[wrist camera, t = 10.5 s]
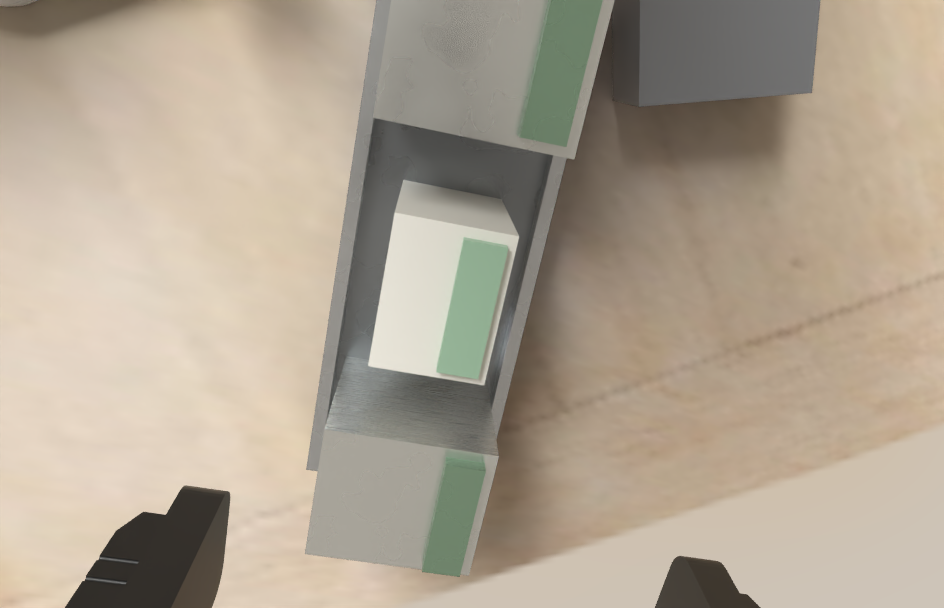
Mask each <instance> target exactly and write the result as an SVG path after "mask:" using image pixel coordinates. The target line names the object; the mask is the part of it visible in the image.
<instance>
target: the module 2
mask: <svg viewBox="0 0 944 608" xmlns="http://www.w3.org/2000/svg"><path fill="white" fill-rule="evenodd" d="M819 9H820V0H615V1H614V5H613V9H612V78H613V101H616V102H621V103H625V104H629V105H634V106H638V107H643V106H655V105H668V104H680V103H692V102H705V101H717V100H730V99H742V98H754V97H767V96H779V95H792V94H804V93H812V86H813V75H814V64H815V53H816V42H817V31H818V20H819Z"/></svg>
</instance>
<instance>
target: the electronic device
mask: <svg viewBox="0 0 944 608" xmlns="http://www.w3.org/2000/svg"><path fill="white" fill-rule="evenodd" d="M35 1H38V0H0V6H7V7H13V6H25V5H27V4H30V3H32V2H35Z"/></svg>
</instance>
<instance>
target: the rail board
mask: <svg viewBox="0 0 944 608" xmlns="http://www.w3.org/2000/svg"><path fill="white" fill-rule="evenodd" d="M614 1H615V0H376V6H375V13H374V20H373V27H372V33H371V40H370V47H369V53H368V60H367V67H366V73H365V80H364V87H363V94H362V100H361V107H360V114H359V120H358V127H357V134H356V140H355V147H354V154H353V160H352V167H351V174H350V181H349V187H348V194H347V201H346V207H345V214H344V221H343V227H342V234H341V241H340V248H339V254H338V261H337V268H336V274H335V281H334V288H333V294H332V301H331V308H330V314H329V321H328V328H327V335H326V341H325V348H324V355H323V361H322V368H321V375H320V381H319V388H318V395H317V402H316V408H315V415H314V422H313V428H312V435H311V442H310V448H309V455H308V462H307V468H306V470H312V471H318V473H317V479H316V486H315V492H314V499H313V505H312V511H311V518H310V524H309V531H308V537H307V544H306V550H305V554H308V555H316V556H324V557H331V558H339V559H346V560H354V561H361V562H369V563H376V564H384V565H391V566H399V567H406V568H414V569H421V570H422V572H427V573H435V574H442V575H450V576H457V577H460V575H466V576H469V573H470V569H471V565H472V561H473V557H474V553H475V549H476V545H477V542H478V538H479V534H480V530H481V526H482V522H483V518H484V514H485V510H486V506H487V502H488V498H489V494H490V490H491V486H492V482H493V478H494V474H495V471H496V467H497V463H498V459H499V453H498V447H497V440H496V439H497V435H498V431H499V427H500V423H501V419H502V415H503V411H504V407H505V403H506V399H507V395H508V391H509V387H510V383H511V379H512V375H513V371H514V367H515V363H516V359H517V355H518V351H519V347H520V343H521V339H522V335H523V331H524V327H525V323H526V319H527V315H528V311H529V307H530V303H531V299H532V295H533V291H534V287H535V283H536V279H537V275H538V271H539V267H540V263H541V259H542V255H543V251H544V247H545V243H546V239H547V235H548V231H549V227H550V223H551V219H552V215H553V211H554V207H555V203H556V199H557V195H558V191H559V187H560V183H561V179H562V175H563V171H564V167H565V163H566V159H567V158H569V159H575V155H576V151H577V147H578V143H579V139H580V135H581V131H582V127H583V123H584V119H585V115H586V111H587V107H588V104H589V100H590V96H591V92H592V88H593V84H594V80H595V76H596V72H597V68H598V64H599V60H600V56H601V52H602V48H603V44H604V40H605V36H606V32H607V29H608V25H609V21H610V17H611V13H612V9H613V5H614ZM403 180H407V181H412V182H418V183H423V184H428V185H433V186H438V187H443V188H448V189H453V190H458V191H463V192H468V193H473V194H478V195H483V196H488V197H493V198H498V199H502V201H503V203H504V205H505V208H506V210H507V212H508V214H509V216H510V218H511V220H512V222H513V224H514V226H515V229H516V231H517V233H518V235H519V240H518V244H517V248H516V253H515V257H514V261H513V265H512V270H511V274H510V278H509V282H508V287H507V291H506V295H505V299H504V303H503V308H502V312H501V316H500V320H499V325H498V329H497V333H496V337H495V342H494V346H493V350H492V354H491V359H490V363H489V367H488V371H487V375H486V380H485V384H484V385H478V384H472V383H466V382H460V381H454V380H448V379H442V378H436V377H430V376H424V375H418V374H412V373H406V372H400V371H394V370H388V369H382V368H376V367H370V366H368V363H369V357H370V352H371V346H372V340H373V334H374V328H375V323H376V317H377V311H378V305H379V300H380V294H381V288H382V282H383V277H384V271H385V265H386V259H387V253H388V248H389V242H390V236H391V230H392V225H393V219H394V213H395V209H396V205H397V202H398V198H399V194H400V191H401V187H402V183H403Z"/></svg>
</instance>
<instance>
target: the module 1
mask: <svg viewBox="0 0 944 608" xmlns="http://www.w3.org/2000/svg"><path fill="white" fill-rule="evenodd" d="M518 240H519V235H518V233H517V231H516V229H515V226H514V224H513V222H512V220H511V218H510V216H509V214H508V212H507V210H506V208H505V205H504V203H503V201H502V199H498V198H493V197H488V196H483V195H478V194H473V193H468V192H463V191H458V190H453V189H448V188H443V187H438V186H433V185H428V184H423V183H418V182H412V181H407V180H403V183H402V187H401V191H400V194H399V198H398V202H397V205H396V209H395V213H394V219H393V225H392V230H391V236H390V242H389V248H388V253H387V259H386V265H385V271H384V277H383V282H382V288H381V294H380V300H379V305H378V311H377V317H376V323H375V328H374V334H373V340H372V346H371V352H370V357H369V363H368V366H370V367H376V368H382V369H388V370H394V371H400V372H406V373H412V374H418V375H424V376H430V377H436V378H442V379H448V380H454V381H460V382H466V383H472V384H478V385H484V384H485V380H486V375H487V371H488V367H489V363H490V359H491V354H492V350H493V346H494V342H495V337H496V333H497V329H498V325H499V320H500V316H501V312H502V308H503V303H504V299H505V295H506V291H507V287H508V282H509V278H510V274H511V270H512V265H513V261H514V257H515V253H516V248H517V244H518Z"/></svg>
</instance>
